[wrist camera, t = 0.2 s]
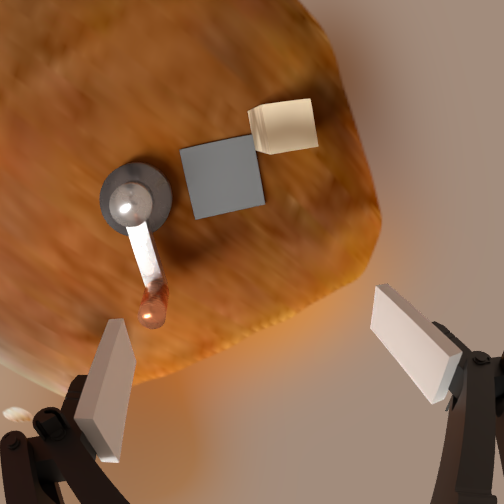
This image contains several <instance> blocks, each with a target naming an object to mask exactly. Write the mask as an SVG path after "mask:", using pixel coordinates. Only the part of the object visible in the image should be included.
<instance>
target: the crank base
mask: <svg viewBox="0 0 504 504" xmlns="http://www.w3.org/2000/svg"><path fill="white" fill-rule="evenodd" d="M133 180H135V181H140V182H143V183H145V184H146V185H147V186H149V188H150V189H151V190H152V192H153V195H154V200H155V203H154V208H153V210H152V212H151V214H150V216H149V217H148V219H149V222H150V226H151V229H152V233H153V232H154V231H156V230H157V229H158V228H160V227H161V226H162V225H163V223H164V222H165V221H166V219H167V217H168V215H169V212H170V209H171V206H172V201H173V193H172V188H171V185H170V182H169V180H168V179H167V177H166V176H165V174H164V173H163V172H162V171H161V170H160V169H158V168H157V167H155V166H153V165H151V164H148V163H144V162H132V163H128V164H125V165H123V166H121V167H119V168H117V169H115V170H114V171H113V172H112V173H111V174H110V175H109V176H108V177H107V178H106V180H105V181H104V183H103V186H102V188H101V192H100V208H101V211H102V214H103V216H104V218H105V220H106V221H107V223H108V224H109V225H110V226H111V227H112V228H113V229H114V230H116V231H117V232H119V233H121V234H123V235H126V236H129V234H128V231H127V228H126V227H125V226H122V225H121V224H119V223H118V222H116V221H115V219H114V218H113V217H112V215H111V212H110V209H109V202H110V198H111V195H112V193H113V192H114V191H115V190H116V189H117V188H118V187H119V186H121V185H122V184H124V183H126V182H128V181H133Z"/></svg>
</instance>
